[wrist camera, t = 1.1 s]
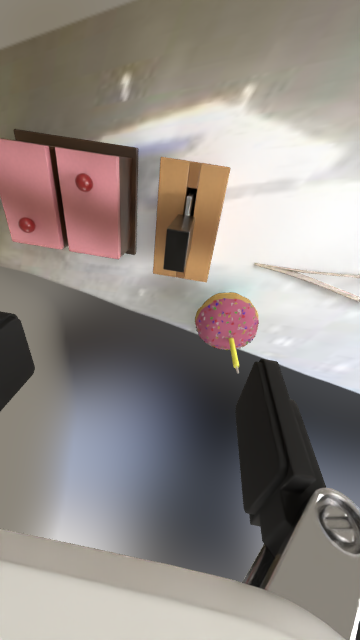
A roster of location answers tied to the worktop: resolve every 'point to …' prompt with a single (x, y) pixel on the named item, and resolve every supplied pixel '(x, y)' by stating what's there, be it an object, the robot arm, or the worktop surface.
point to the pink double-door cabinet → (70, 193)
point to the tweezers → (311, 280)
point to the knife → (180, 237)
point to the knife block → (207, 211)
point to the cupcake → (227, 322)
